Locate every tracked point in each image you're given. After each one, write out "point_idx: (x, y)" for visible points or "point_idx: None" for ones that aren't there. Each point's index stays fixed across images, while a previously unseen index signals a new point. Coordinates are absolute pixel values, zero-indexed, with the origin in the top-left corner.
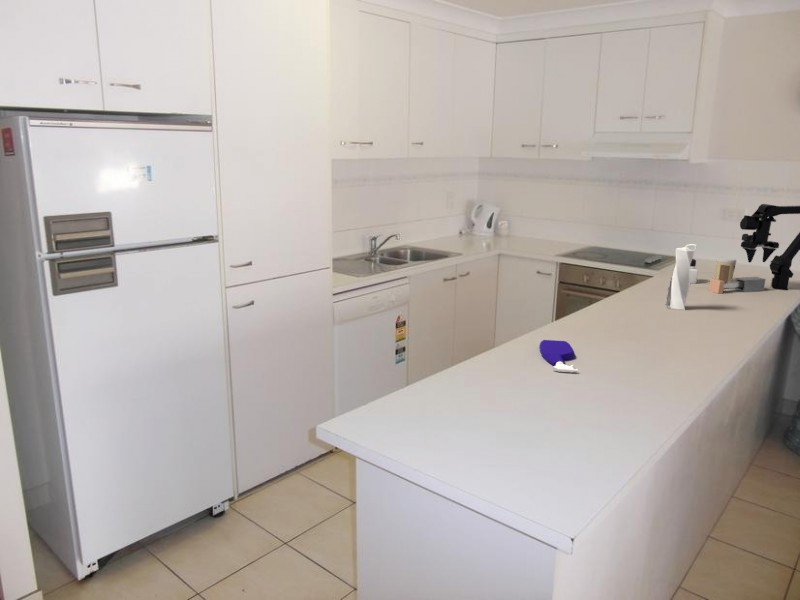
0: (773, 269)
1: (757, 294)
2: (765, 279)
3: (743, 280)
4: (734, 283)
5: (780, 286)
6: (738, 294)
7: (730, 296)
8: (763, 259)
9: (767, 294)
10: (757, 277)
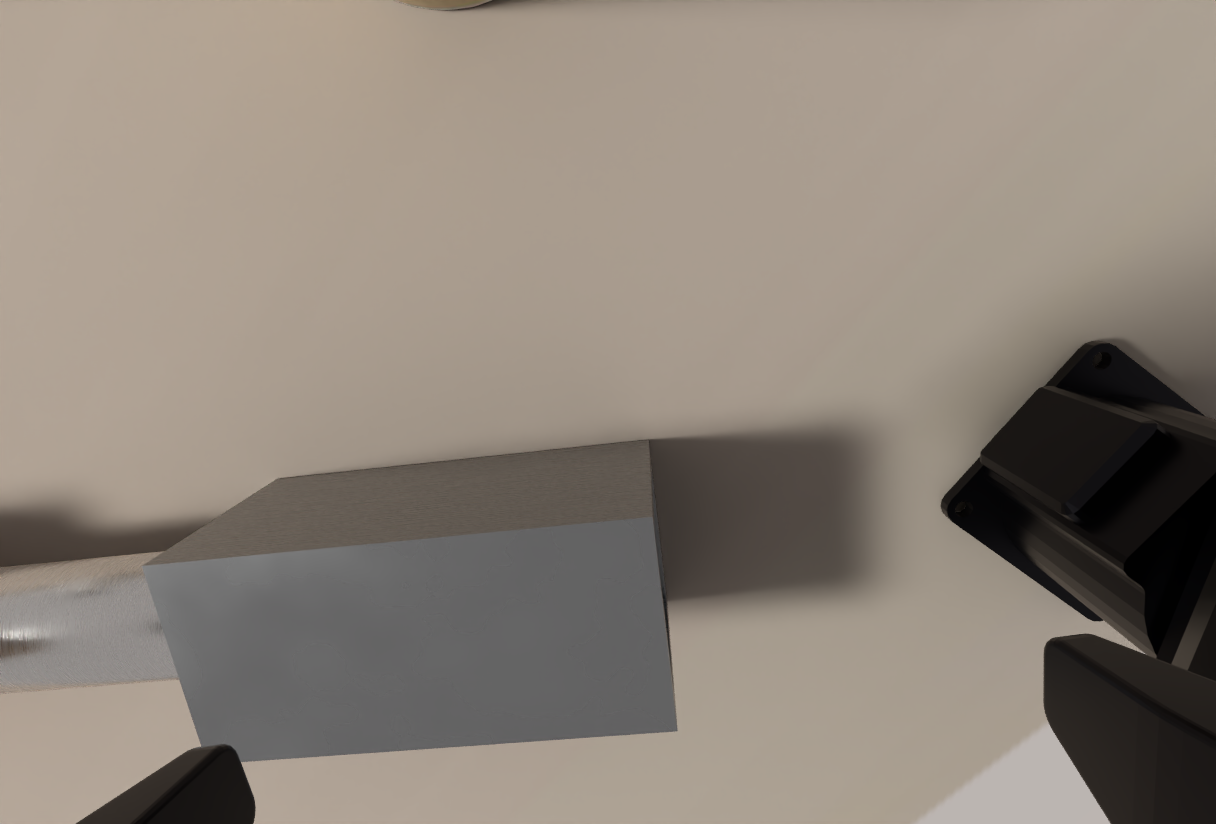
0: (1200, 638)
1: (423, 755)
2: (676, 725)
3: (203, 708)
4: (61, 688)
5: (1046, 573)
6: (165, 726)
7: (9, 793)
8: (1133, 742)
9: (561, 771)
10: (625, 585)
